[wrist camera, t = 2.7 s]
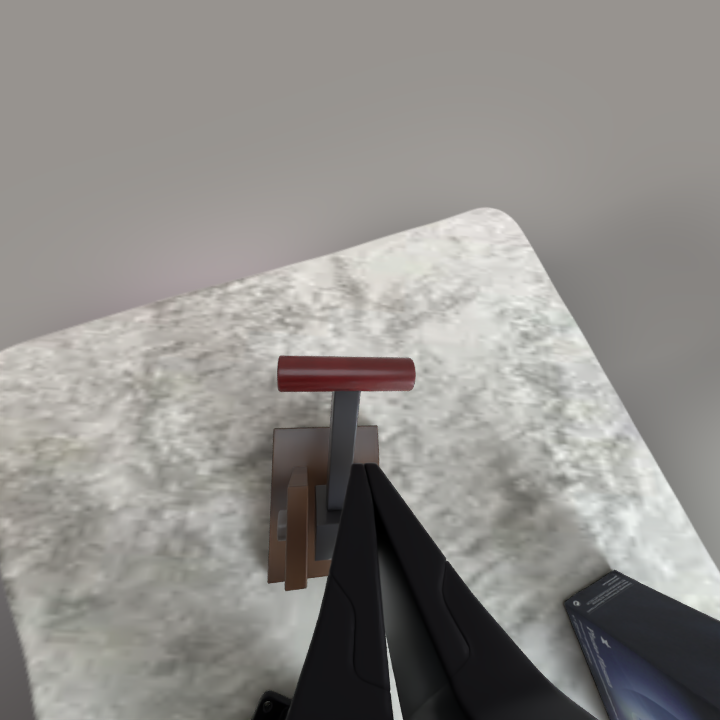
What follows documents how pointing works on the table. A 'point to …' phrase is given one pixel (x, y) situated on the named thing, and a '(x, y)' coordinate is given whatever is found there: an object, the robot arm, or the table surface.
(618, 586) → the small box
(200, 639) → the table surface
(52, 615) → the table surface
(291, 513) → the bracket
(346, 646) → the robot arm
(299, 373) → the crank
